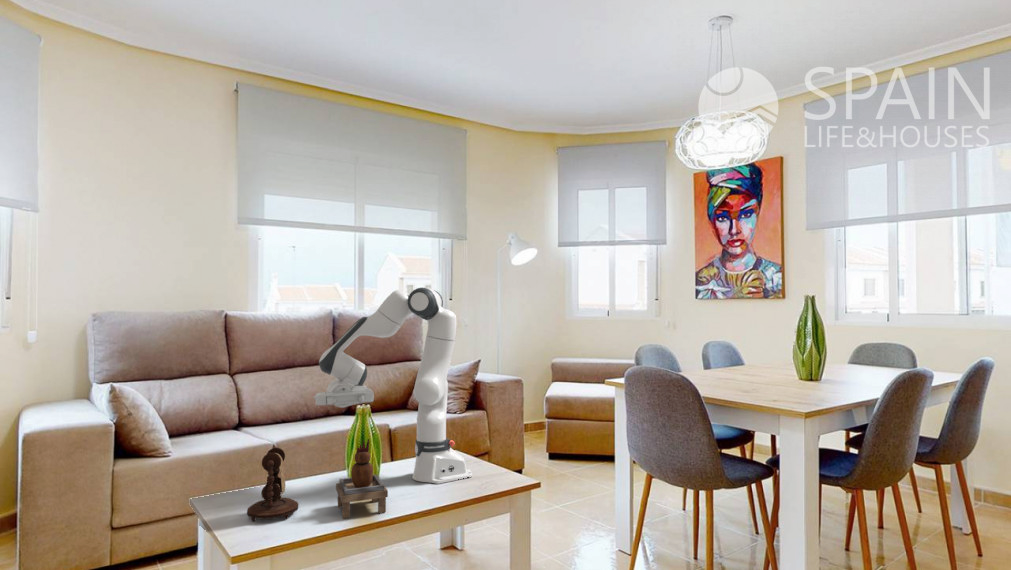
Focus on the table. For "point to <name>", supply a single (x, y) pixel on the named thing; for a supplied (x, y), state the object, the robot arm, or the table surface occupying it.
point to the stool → (360, 494)
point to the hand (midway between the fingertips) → (347, 400)
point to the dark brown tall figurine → (273, 490)
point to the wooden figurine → (362, 467)
